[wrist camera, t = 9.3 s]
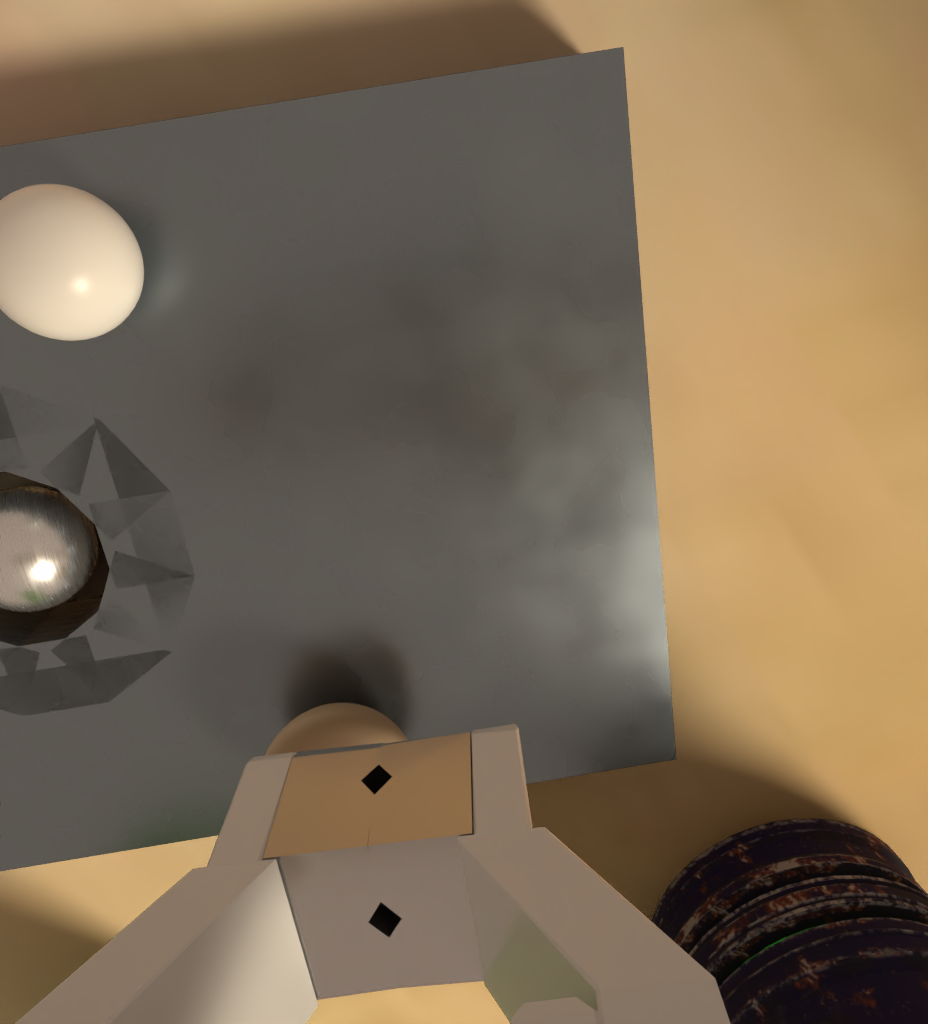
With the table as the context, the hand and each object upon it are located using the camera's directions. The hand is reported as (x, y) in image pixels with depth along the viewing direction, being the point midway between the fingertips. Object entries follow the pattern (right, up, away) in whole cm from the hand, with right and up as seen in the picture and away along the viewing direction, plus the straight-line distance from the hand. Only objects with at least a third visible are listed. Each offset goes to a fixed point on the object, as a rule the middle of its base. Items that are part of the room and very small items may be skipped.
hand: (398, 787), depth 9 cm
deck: (-6, +3, +13) cm, 15 cm away
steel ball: (-10, +2, +11) cm, 16 cm away
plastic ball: (-7, +8, +7) cm, 13 cm away
